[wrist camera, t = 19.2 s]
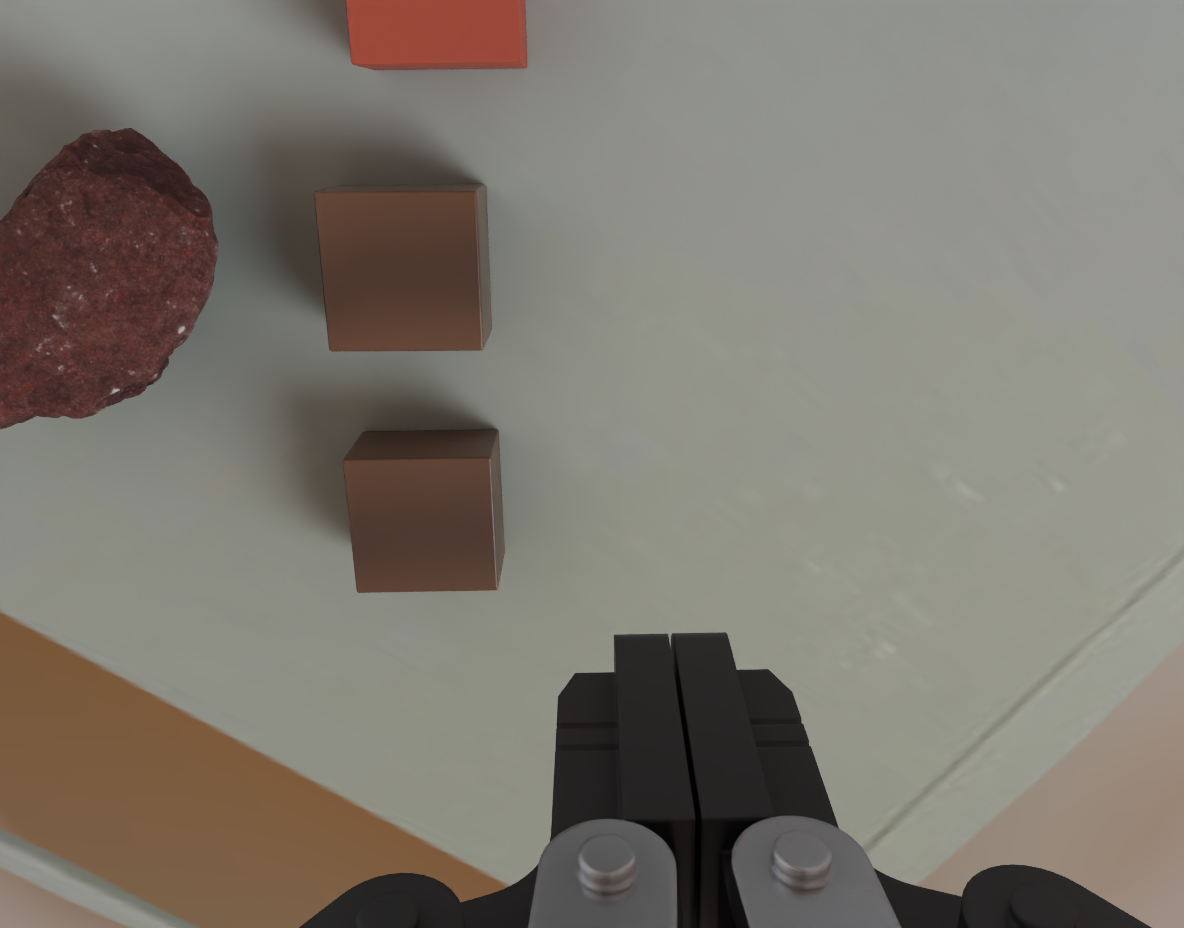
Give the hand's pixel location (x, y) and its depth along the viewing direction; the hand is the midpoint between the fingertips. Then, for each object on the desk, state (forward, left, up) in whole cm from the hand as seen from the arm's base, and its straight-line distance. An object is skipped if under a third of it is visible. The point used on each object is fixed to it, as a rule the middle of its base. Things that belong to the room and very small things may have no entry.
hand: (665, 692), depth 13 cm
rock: (+2, -17, -20) cm, 26 cm away
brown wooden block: (-3, -7, -23) cm, 24 cm away
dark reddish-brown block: (+6, -7, -23) cm, 24 cm away
